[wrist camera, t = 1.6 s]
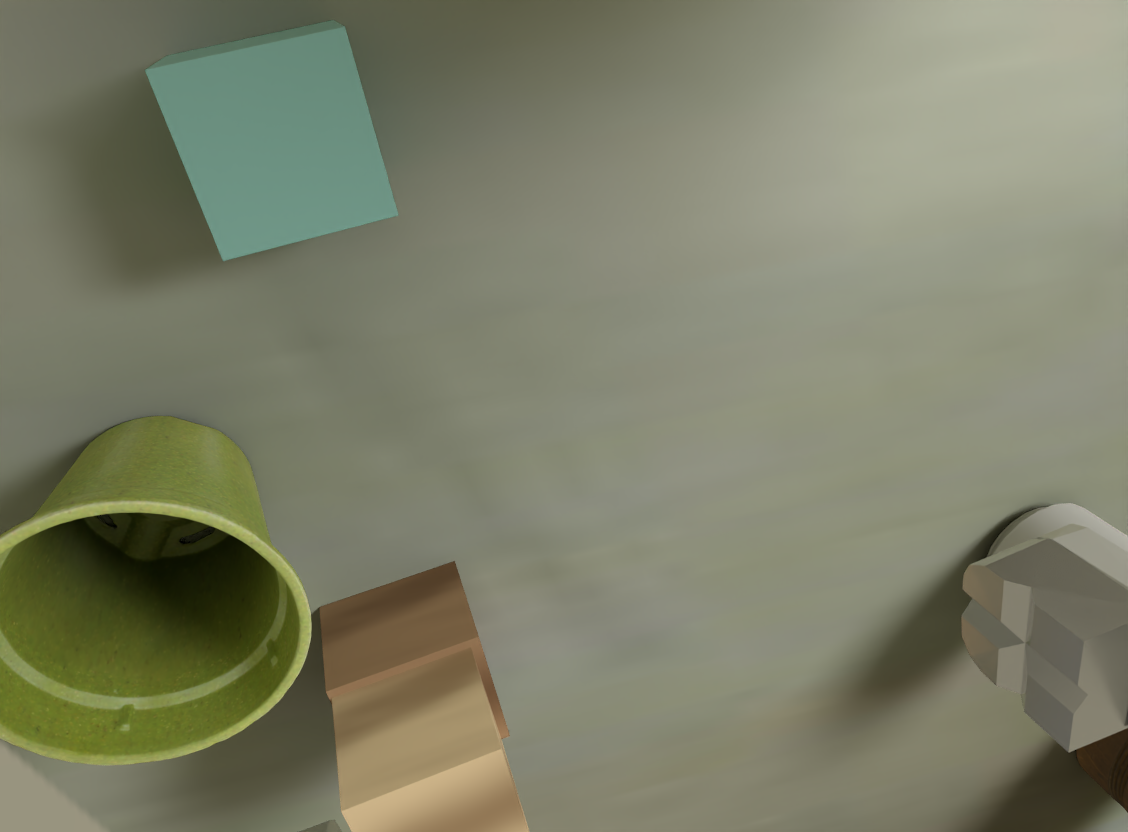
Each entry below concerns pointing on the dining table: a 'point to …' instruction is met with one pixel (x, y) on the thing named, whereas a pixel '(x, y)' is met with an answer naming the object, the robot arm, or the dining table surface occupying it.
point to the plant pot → (146, 603)
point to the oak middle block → (424, 754)
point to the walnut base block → (401, 633)
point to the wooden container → (1108, 764)
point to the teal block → (275, 137)
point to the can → (1054, 526)
